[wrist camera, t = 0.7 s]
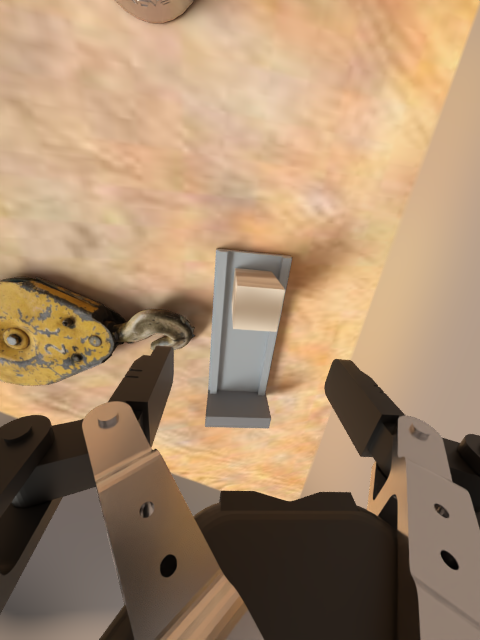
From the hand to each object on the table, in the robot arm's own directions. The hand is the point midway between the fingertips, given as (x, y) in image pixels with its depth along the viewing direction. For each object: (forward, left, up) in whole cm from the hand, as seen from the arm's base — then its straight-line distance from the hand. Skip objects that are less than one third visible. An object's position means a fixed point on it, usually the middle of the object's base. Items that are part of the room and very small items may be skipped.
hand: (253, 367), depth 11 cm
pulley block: (+9, -20, -19) cm, 29 cm away
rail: (+9, +2, -19) cm, 21 cm away
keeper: (+1, +2, -17) cm, 17 cm away
